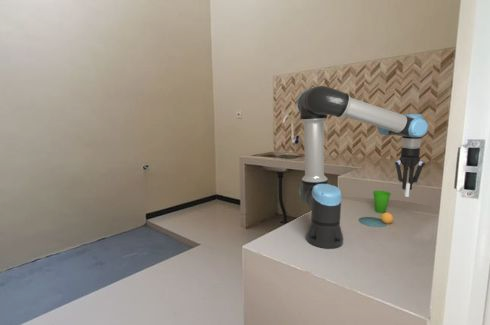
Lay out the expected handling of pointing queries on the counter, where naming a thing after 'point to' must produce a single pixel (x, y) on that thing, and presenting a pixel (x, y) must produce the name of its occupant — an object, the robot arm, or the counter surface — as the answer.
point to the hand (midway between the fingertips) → (406, 196)
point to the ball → (387, 218)
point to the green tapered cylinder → (381, 201)
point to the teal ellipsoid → (372, 221)
